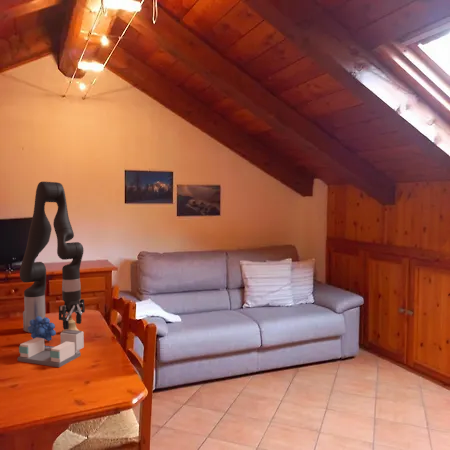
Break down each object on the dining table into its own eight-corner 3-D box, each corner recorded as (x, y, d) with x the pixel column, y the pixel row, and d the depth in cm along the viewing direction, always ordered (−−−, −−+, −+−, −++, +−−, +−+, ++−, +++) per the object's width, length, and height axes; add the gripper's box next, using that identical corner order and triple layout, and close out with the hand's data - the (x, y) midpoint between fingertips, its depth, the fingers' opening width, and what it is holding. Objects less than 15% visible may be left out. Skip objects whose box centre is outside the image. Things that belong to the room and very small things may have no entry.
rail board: (17, 360, 175) (17, 344, 175) (40, 350, 188) (40, 335, 187) (59, 367, 169) (58, 350, 168) (80, 355, 181) (80, 340, 181)
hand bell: (75, 335, 208) (75, 301, 207) (58, 334, 208) (57, 301, 207) (81, 329, 216) (81, 297, 215) (65, 329, 216) (64, 297, 215)
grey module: (60, 349, 189) (60, 332, 189) (68, 345, 194) (68, 328, 193) (76, 351, 187) (76, 334, 186) (83, 347, 191) (83, 330, 191)
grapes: (26, 346, 192) (25, 319, 191) (28, 341, 198) (28, 315, 197) (55, 344, 195) (54, 317, 194) (56, 339, 201) (55, 313, 201)
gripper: (74, 285, 196) (75, 321, 197) (52, 291, 183) (54, 330, 184) (89, 286, 194) (89, 322, 195) (67, 292, 181) (69, 331, 182)
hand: (72, 326), depth 189 cm, fingers open, 8 cm apart
